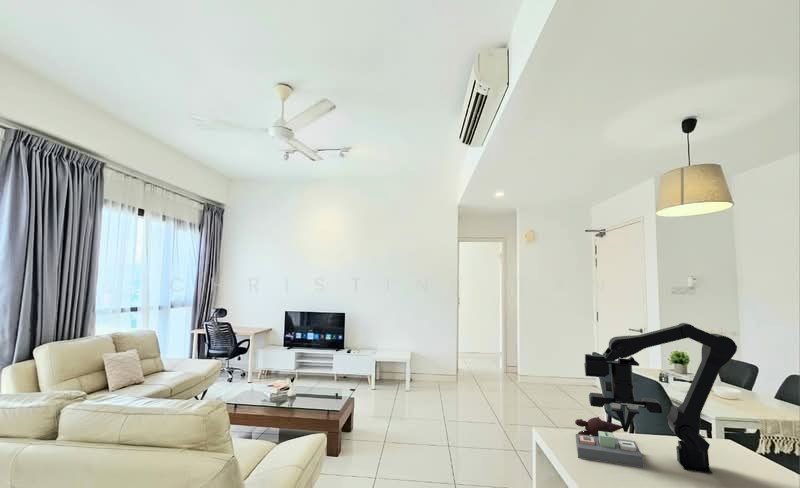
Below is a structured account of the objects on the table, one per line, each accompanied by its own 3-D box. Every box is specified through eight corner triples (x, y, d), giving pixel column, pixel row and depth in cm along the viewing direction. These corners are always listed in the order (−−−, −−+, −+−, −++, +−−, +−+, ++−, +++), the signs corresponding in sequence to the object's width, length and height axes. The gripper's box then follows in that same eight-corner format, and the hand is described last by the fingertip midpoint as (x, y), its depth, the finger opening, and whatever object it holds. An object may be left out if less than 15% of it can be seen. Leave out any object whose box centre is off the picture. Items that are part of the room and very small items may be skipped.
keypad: (635, 451, 117) (635, 441, 118) (643, 467, 107) (642, 456, 108) (576, 443, 124) (575, 433, 124) (578, 457, 114) (577, 447, 114)
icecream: (616, 414, 132) (571, 416, 134) (623, 416, 125) (576, 418, 127) (621, 436, 130) (575, 438, 132) (629, 439, 123) (581, 441, 125)
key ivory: (634, 455, 115) (633, 441, 115) (637, 461, 111) (636, 447, 111) (619, 453, 116) (618, 439, 117) (621, 459, 112) (620, 445, 113)
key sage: (613, 445, 117) (612, 432, 117) (615, 450, 113) (614, 436, 114) (599, 443, 118) (598, 430, 119) (600, 448, 115) (599, 435, 115)
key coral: (594, 449, 119) (593, 436, 119) (595, 455, 115) (594, 441, 116) (580, 447, 120) (579, 434, 121) (581, 453, 117) (580, 439, 117)
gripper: (651, 375, 120) (654, 426, 118) (586, 370, 127) (589, 418, 125) (660, 384, 110) (664, 440, 108) (589, 378, 117) (592, 430, 115)
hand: (625, 431), depth 114 cm, fingers closed
